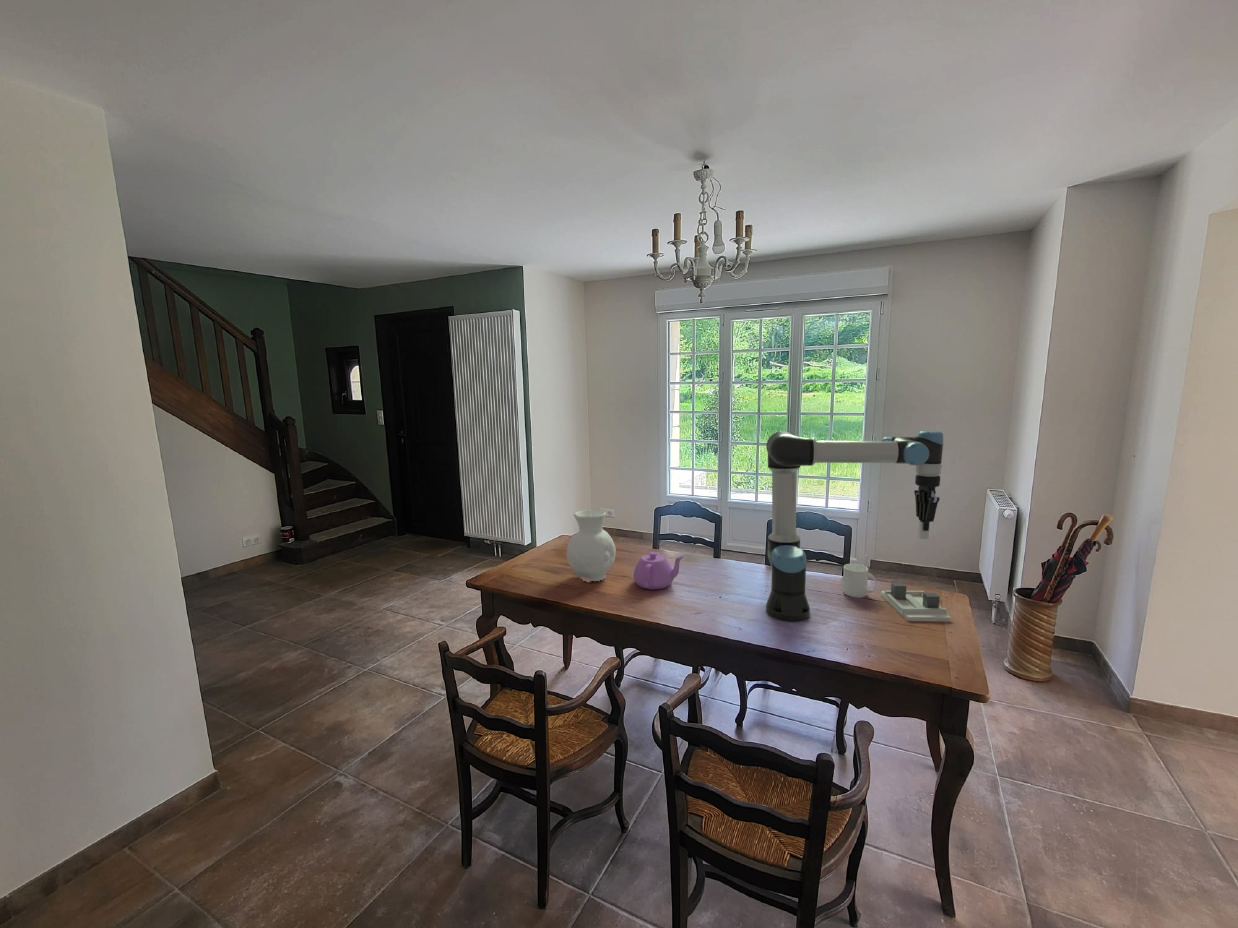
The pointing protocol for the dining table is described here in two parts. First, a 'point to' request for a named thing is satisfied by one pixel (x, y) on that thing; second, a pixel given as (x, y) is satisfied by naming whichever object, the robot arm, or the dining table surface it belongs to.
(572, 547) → the vase
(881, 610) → the dining table surface
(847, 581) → the mug
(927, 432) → the robot arm
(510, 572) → the dining table surface
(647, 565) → the teapot
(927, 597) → the tab
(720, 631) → the dining table surface
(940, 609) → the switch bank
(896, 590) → the tab
